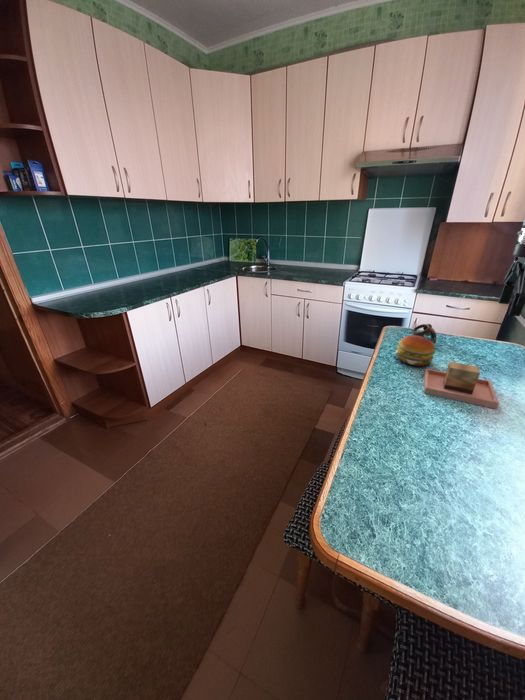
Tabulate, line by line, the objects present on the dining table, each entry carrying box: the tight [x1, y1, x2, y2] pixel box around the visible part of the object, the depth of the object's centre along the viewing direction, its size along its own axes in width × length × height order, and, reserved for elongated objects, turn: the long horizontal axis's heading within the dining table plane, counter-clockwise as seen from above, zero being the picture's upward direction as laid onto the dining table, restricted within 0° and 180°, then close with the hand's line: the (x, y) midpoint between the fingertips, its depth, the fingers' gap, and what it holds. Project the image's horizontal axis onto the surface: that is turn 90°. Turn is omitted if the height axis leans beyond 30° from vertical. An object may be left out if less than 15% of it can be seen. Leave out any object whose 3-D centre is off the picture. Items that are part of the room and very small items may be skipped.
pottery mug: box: [411, 323, 437, 344], centre depth 132 cm, size 12×10×8 cm
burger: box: [394, 335, 436, 367], centre depth 113 cm, size 14×14×10 cm
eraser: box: [443, 361, 481, 394], centre depth 95 cm, size 8×4×8 cm, turn 63°
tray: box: [423, 368, 500, 410], centre depth 97 cm, size 20×14×2 cm
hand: (508, 309), depth 99 cm, fingers open, 13 cm apart
